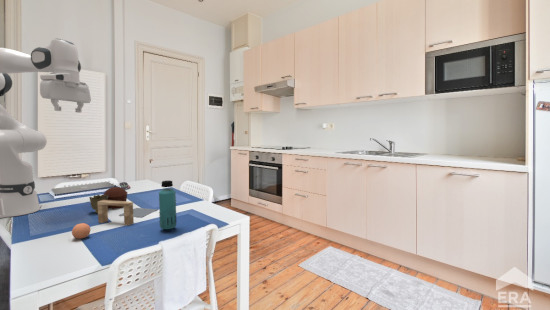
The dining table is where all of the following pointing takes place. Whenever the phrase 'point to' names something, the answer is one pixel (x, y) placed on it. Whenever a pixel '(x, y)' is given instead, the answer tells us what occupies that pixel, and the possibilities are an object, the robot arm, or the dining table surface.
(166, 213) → the beverage bottle
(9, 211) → the robot arm
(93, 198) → the cup
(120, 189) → the muffin
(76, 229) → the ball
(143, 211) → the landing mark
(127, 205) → the bridge
